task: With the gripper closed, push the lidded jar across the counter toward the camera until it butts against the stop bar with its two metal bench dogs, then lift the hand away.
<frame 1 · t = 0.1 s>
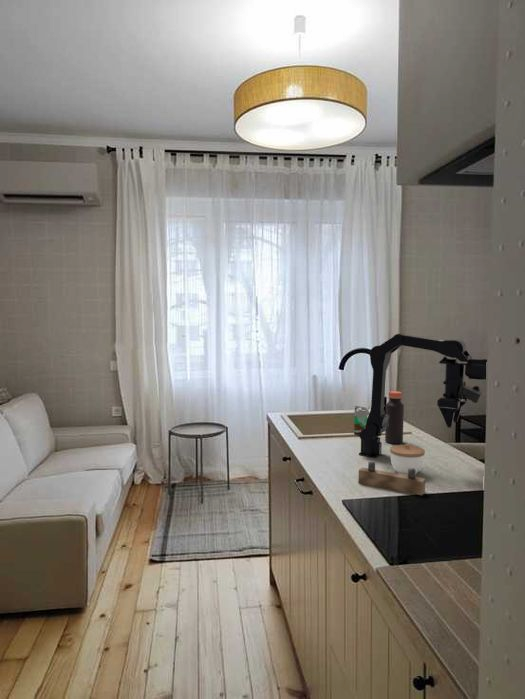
hand: (452, 424, 166), 15 cm above the worktop, fingers open, 9 cm apart
food container: (361, 432, 215), on the worktop
stop bar: (390, 487, 148), on the worktop
lidded jar: (406, 473, 162), on the worktop
bottle: (393, 442, 198), on the worktop
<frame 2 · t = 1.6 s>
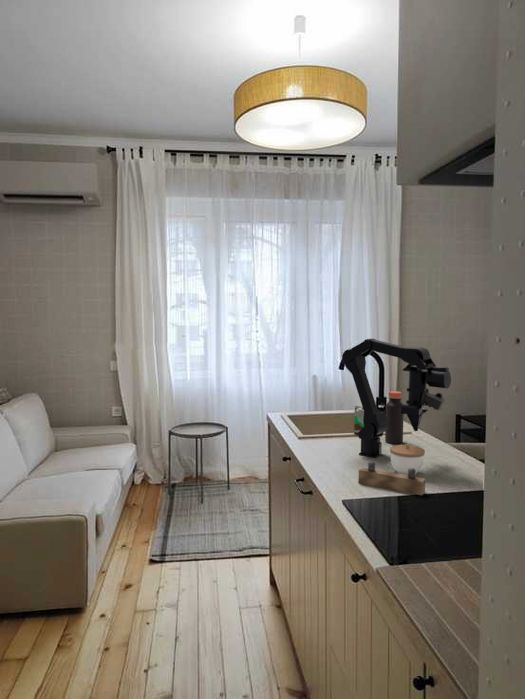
hand: (416, 430, 169), 12 cm above the worktop, fingers closed
nothing on the worktop moved.
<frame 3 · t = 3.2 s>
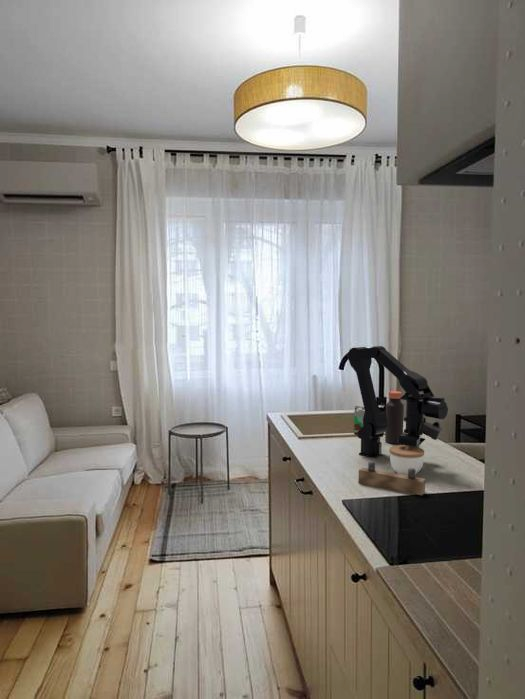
hand: (413, 460, 168), 2 cm above the worktop, fingers closed
lidded jar: (406, 473, 161), on the worktop, touching gripper
everything else where it was.
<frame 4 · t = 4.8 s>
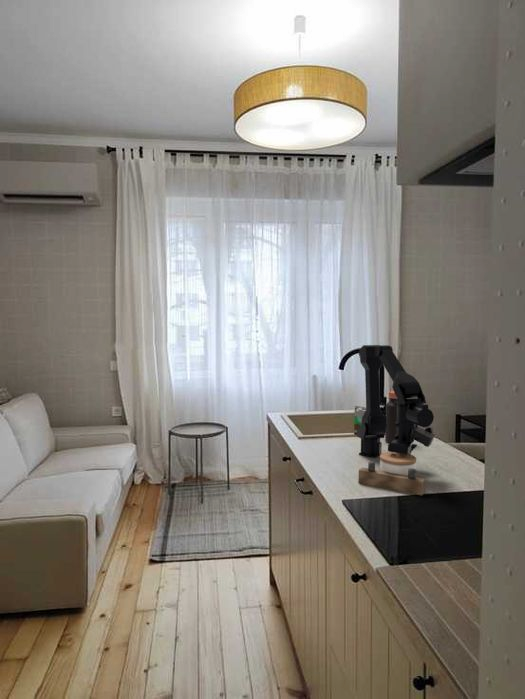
hand: (405, 467, 161), 2 cm above the worktop, fingers closed
lidded jar: (397, 481, 154), on the worktop, touching gripper, stop bar
everything else where it was.
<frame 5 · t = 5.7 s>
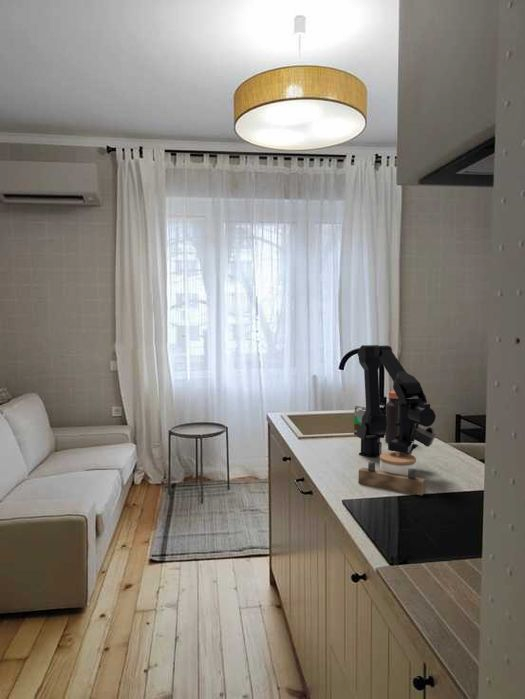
hand: (405, 467, 161), 2 cm above the worktop, fingers closed
lidded jar: (396, 482, 154), on the worktop
everything else where it was.
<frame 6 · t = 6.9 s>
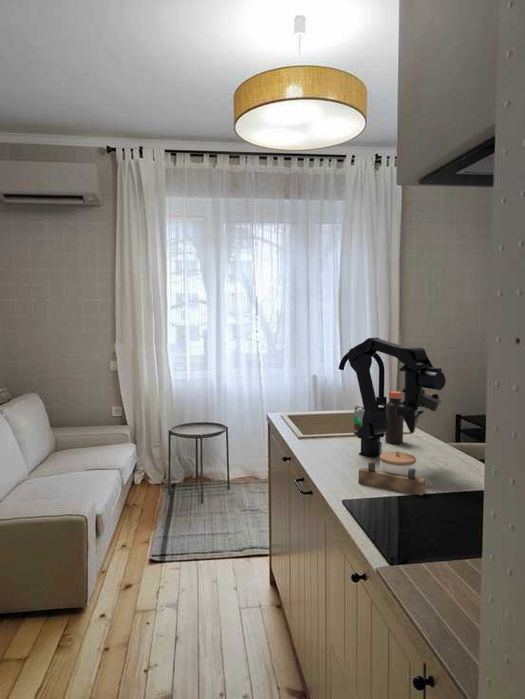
hand: (412, 432, 165), 12 cm above the worktop, fingers closed
nothing on the worktop moved.
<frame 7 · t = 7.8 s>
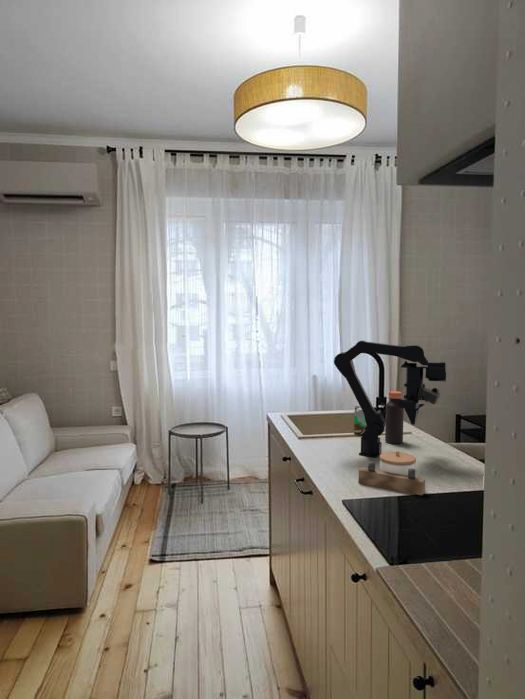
hand: (413, 424, 177), 12 cm above the worktop, fingers closed
nothing on the worktop moved.
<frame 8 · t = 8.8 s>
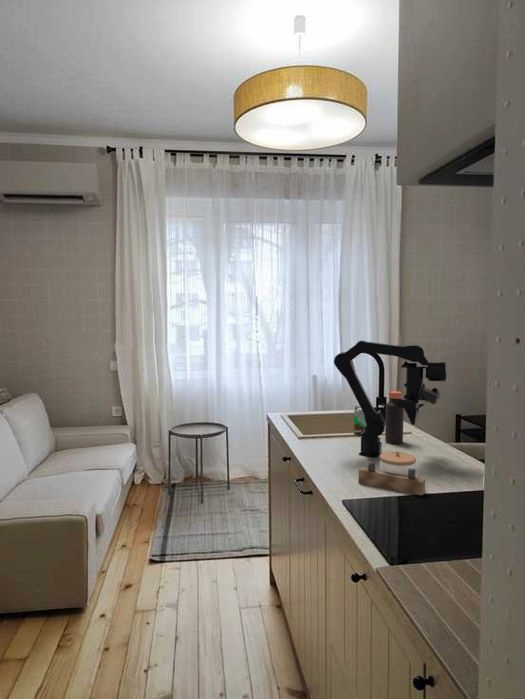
hand: (413, 424, 177), 12 cm above the worktop, fingers closed
nothing on the worktop moved.
at the end: lidded jar inside the target area (0.8 cm from its centre), on the worktop; lidded jar tilted 0°; lidded jar moved 9.8 cm from its start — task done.
